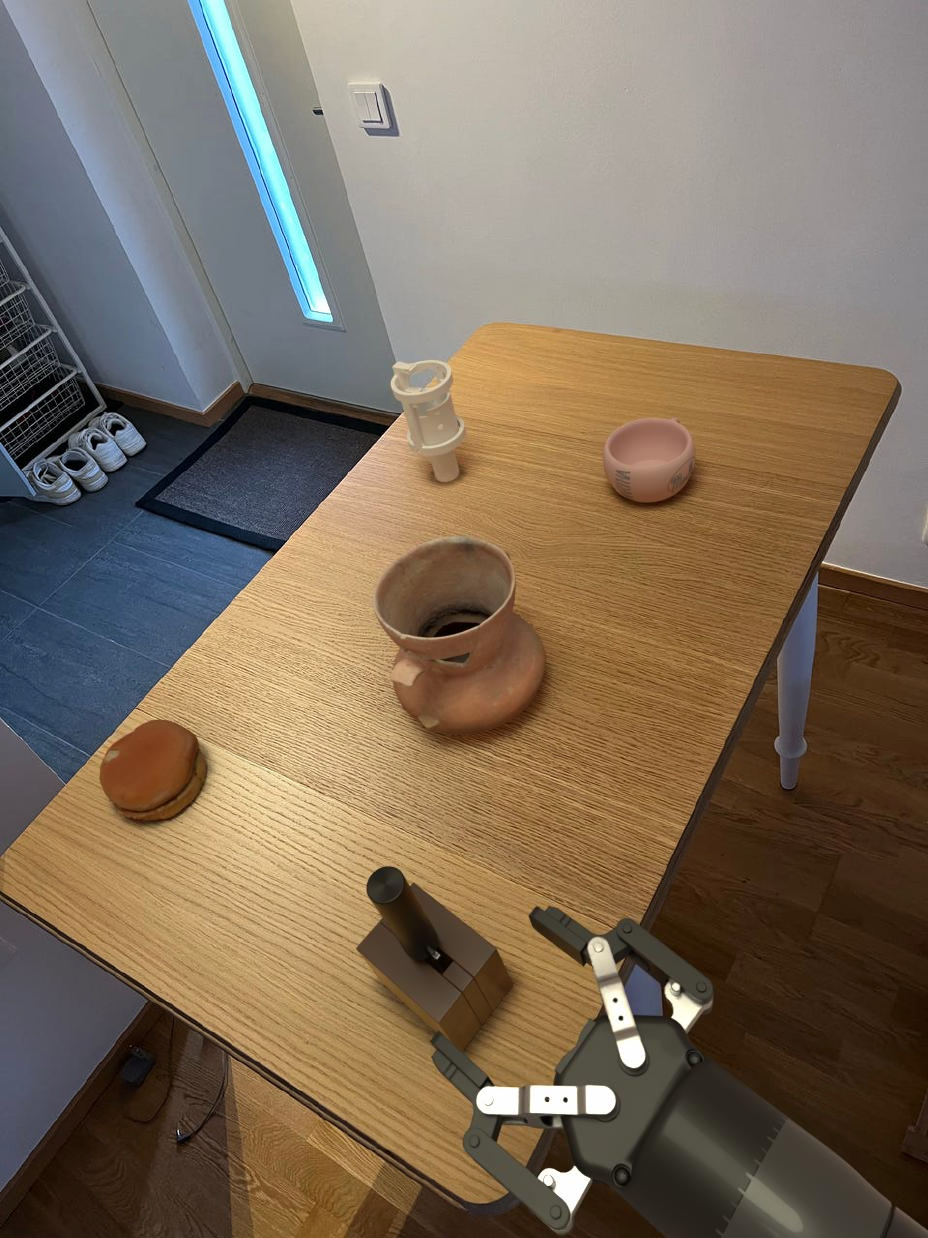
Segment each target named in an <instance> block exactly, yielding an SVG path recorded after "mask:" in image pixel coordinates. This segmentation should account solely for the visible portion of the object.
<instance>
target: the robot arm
mask: <svg viewBox="0 0 928 1238" xmlns="http://www.w3.org/2000/svg"><path fill="white" fill-rule="evenodd" d="M528 919H529V921H530V925H531V927H532V928H533V929H534V930H535V931H536V932H537V933H538V934H539V935H541V936H542V937H543V938H545V939H546V940H547V941H548V942H550V943H552V944H553V946H555V947H557V948H558V949H560V951H562V952H563V953H565V954H566V955H567V956H569V957H570V958H571V959H573V960H574V961H575V962H577V963H578V965H580V966H582V967H583V968H584V967H585V966H586V965H589V966H590V967H591V969H592V972H593V975H594V978H595V981H596V985H597V989H598V991H599V995H600V997H601V1002H602V1005H603V1009H604V1012H605V1014H601V1015H598V1016H596V1017H595V1018H591V1017H590V1018H589V1019H588V1020H587V1022H586V1023H585V1025H584V1026H583V1028H582V1029H581V1031H580V1034H579V1037H578V1039H577V1041H576V1045H575V1046H574V1047H573V1048H572V1049H570V1050H569V1051H568V1052H567V1053H566V1054H564V1055H563V1056H562V1057H561V1059H560V1061H559V1062H558V1063H557V1065H556V1066H555V1067H554V1072H555V1074H554V1077H553V1083H552V1085H541V1084H540V1085H539V1084H537V1085H532V1084H530V1085H529V1084H528V1085H524V1086H521V1087H517V1086H515V1087H513V1086H496V1085H495V1084H494V1082H493V1081H492V1080H491V1078H490V1077H489V1075H488V1074H487V1073H486V1072H485V1071H484V1070H483V1069H482V1068H480V1067H479V1066H478V1065H477V1064H476V1063H475V1062H474V1061H473V1060H472V1059H470V1058H469V1057H468V1056H467V1055H466V1054H465V1053H464V1051H463V1052H462V1051H460V1050H459V1049H458V1048H457V1047H456V1046H455V1045H454V1044H453V1043H452V1042H451V1041H450V1040H448V1039H447V1038H446V1037H445V1036H444V1035H443V1034H442V1033H441V1032H440V1031H437V1032H435V1033H434V1035H433V1036H432V1037H431V1039H430V1040H429V1043H430V1044H431V1046H432V1047H433V1048H434V1049H435V1051H434V1053H433V1054H432V1055H431V1057H430V1058H431V1060H432V1062H433V1064H434V1067H435V1068H436V1070H437V1071H438V1072H439V1073H440V1074H441V1076H443V1077H444V1079H446V1080H447V1081H448V1082H449V1083H450V1084H451V1085H452V1086H453V1087H454V1088H456V1090H458V1091H459V1093H461V1095H463V1096H464V1097H465V1098H466V1099H467V1100H468V1101H469V1102H470V1103H471V1104H472V1109H473V1112H472V1113H473V1114H472V1119H471V1121H470V1123H469V1127H468V1129H467V1130H466V1131H465V1132H464V1134H463V1136H462V1142H461V1143H462V1148H463V1150H464V1151H465V1152H466V1154H467V1155H468V1156H469V1157H470V1158H471V1159H472V1160H473V1161H474V1162H475V1163H476V1164H477V1165H478V1166H479V1167H480V1168H482V1169H483V1171H485V1172H486V1173H487V1174H488V1175H489V1176H491V1178H493V1179H494V1180H495V1181H496V1182H497V1183H498V1184H500V1185H501V1186H502V1187H503V1188H504V1189H505V1190H506V1191H507V1192H508V1193H509V1194H511V1195H512V1196H513V1197H514V1198H515V1199H516V1200H518V1201H519V1202H520V1203H521V1204H522V1205H523V1206H524V1207H525V1208H527V1209H528V1210H529V1211H530V1212H531V1213H532V1214H533V1215H535V1217H537V1218H538V1219H539V1220H540V1221H541V1222H542V1223H544V1224H545V1226H547V1227H548V1228H549V1229H550V1230H552V1232H554V1233H555V1234H556V1235H557V1236H562V1237H563V1236H567V1235H568V1234H570V1233H572V1231H573V1229H574V1228H575V1221H576V1220H575V1219H576V1218H575V1215H576V1214H577V1212H578V1209H579V1208H580V1207H581V1204H582V1202H583V1200H584V1199H585V1196H586V1195H587V1193H588V1192H589V1190H590V1188H591V1186H592V1184H593V1183H594V1184H600V1185H603V1186H606V1187H607V1188H610V1189H611V1190H613V1191H614V1192H615V1193H617V1194H618V1195H619V1196H620V1197H621V1198H622V1199H623V1200H625V1201H626V1203H628V1204H629V1205H630V1206H631V1207H632V1208H633V1209H634V1210H635V1211H637V1212H638V1213H639V1214H640V1215H641V1216H642V1217H643V1218H644V1219H645V1220H647V1222H648V1223H649V1224H651V1225H652V1226H653V1228H655V1229H656V1230H657V1231H658V1232H659V1233H661V1235H663V1236H664V1237H665V1238H928V1229H926V1228H925V1227H924V1226H922V1225H921V1224H920V1223H919V1222H917V1221H916V1220H915V1219H914V1218H912V1217H911V1216H910V1215H908V1214H907V1213H906V1212H904V1211H903V1210H902V1209H900V1208H899V1207H897V1206H896V1205H892V1201H890V1200H889V1199H888V1198H887V1197H885V1196H884V1195H883V1194H882V1193H880V1192H879V1191H878V1190H877V1189H876V1188H875V1187H874V1186H873V1185H872V1184H871V1183H869V1182H868V1181H867V1180H866V1178H864V1177H863V1176H862V1175H861V1174H860V1173H859V1172H858V1171H857V1170H856V1169H855V1168H854V1167H853V1166H852V1165H851V1164H849V1163H848V1162H847V1161H846V1160H844V1159H843V1158H842V1157H841V1156H840V1155H839V1154H837V1152H835V1151H834V1150H832V1149H830V1148H829V1147H828V1146H827V1145H826V1144H824V1143H823V1142H822V1141H820V1140H819V1139H818V1138H816V1137H815V1136H814V1135H812V1134H811V1133H809V1132H808V1131H807V1130H806V1129H804V1128H803V1127H802V1126H800V1125H799V1124H798V1123H796V1121H794V1120H792V1119H791V1118H790V1117H789V1116H787V1115H786V1114H784V1113H783V1112H782V1111H780V1110H779V1109H778V1108H777V1107H775V1106H774V1105H773V1104H771V1103H770V1102H768V1101H767V1100H766V1099H764V1097H762V1096H761V1095H759V1094H758V1093H757V1092H755V1091H754V1090H752V1088H750V1087H749V1086H748V1085H746V1084H745V1083H743V1082H742V1081H741V1080H739V1079H738V1078H737V1077H735V1076H734V1075H733V1074H731V1073H730V1072H729V1071H727V1070H726V1069H725V1068H724V1067H722V1066H721V1065H719V1063H717V1062H715V1061H714V1060H713V1059H711V1058H710V1057H709V1056H707V1055H706V1054H705V1053H704V1052H702V1051H701V1050H700V1049H698V1047H697V1046H696V1045H695V1044H694V1043H693V1041H692V1040H691V1039H690V1037H689V1034H688V1033H689V1032H690V1030H691V1029H692V1028H693V1026H694V1025H695V1024H696V1022H697V1021H698V1019H700V1017H701V1016H706V1015H708V1014H709V1013H711V1011H712V1010H713V1007H714V990H715V989H714V984H713V981H711V979H710V978H708V977H707V976H706V975H705V974H703V973H702V972H700V970H698V969H697V968H696V967H694V966H693V965H692V964H690V963H689V962H688V961H686V960H685V959H684V958H683V957H681V956H680V955H679V954H678V953H676V952H675V951H674V950H672V949H671V948H670V947H669V946H667V945H666V944H665V943H663V942H662V941H661V940H660V939H658V938H657V937H656V936H654V935H653V934H652V933H650V931H648V930H647V929H645V928H644V927H643V926H642V925H640V924H639V923H638V922H636V921H635V920H634V919H632V918H629V917H624V918H622V919H620V920H619V921H617V923H616V926H615V927H614V928H612V929H610V930H609V931H608V932H606V933H604V934H597V933H593V932H592V931H590V930H589V929H588V928H586V927H585V926H584V925H582V924H581V923H580V922H578V921H577V920H575V919H574V918H572V917H571V916H570V915H568V914H567V913H566V912H565V911H563V910H561V909H560V908H559V907H555V906H553V905H552V906H551V905H548V906H547V908H546V909H545V910H544V909H543V908H541V907H540V906H537V905H535V907H534V908H532V911H531V912H530V913H529V914H528ZM626 958H628V959H629V960H630V961H631V962H633V963H634V964H635V965H637V966H638V967H639V968H640V969H641V970H643V972H645V973H646V974H648V976H650V977H651V978H652V979H653V980H655V981H656V982H658V984H660V985H661V986H662V987H663V988H664V998H665V1002H666V1004H667V1005H668V1006H669V1007H670V1008H671V1010H672V1014H671V1016H667V1015H651V1014H649V1015H647V1014H633V1013H632V1009H631V1006H630V1003H629V1000H628V997H627V993H626V990H625V988H624V984H623V982H622V981H623V980H622V978H621V976H620V974H619V971H618V968H617V964H619V963H620V962H622V961H624V959H626ZM502 1126H517V1127H518V1126H519V1127H529V1128H533V1129H540V1130H562V1131H563V1133H564V1138H565V1139H566V1144H567V1148H568V1151H569V1155H570V1159H571V1162H572V1163H573V1167H572V1169H570V1170H569V1171H567V1172H560V1171H558V1170H556V1169H555V1168H551V1167H548V1168H545V1169H543V1170H542V1171H541V1172H540V1173H539V1175H538V1176H537V1175H535V1174H534V1173H533V1172H532V1171H531V1170H530V1169H528V1168H527V1167H526V1166H525V1165H524V1164H523V1163H521V1162H520V1161H519V1160H517V1158H515V1157H514V1155H512V1154H511V1153H510V1152H508V1151H507V1150H506V1149H505V1148H504V1147H503V1146H501V1144H500V1143H498V1139H499V1137H500V1132H501V1130H502Z"/></svg>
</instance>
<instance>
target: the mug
mask: <svg viewBox="0 0 928 1238" xmlns="http://www.w3.org/2000/svg"><path fill="white" fill-rule="evenodd" d="M696 453H697V452H696V444H695V441H694V436H693V435H692V433H691V432H690V430H689V429H688V428H687V427H685V425H683V424H682V423H681V421H680V419H679V418H678V417H672V418H670V419H669V418H664V417H642V418H639V419H634V420H631V421H628V422H626V423H624V424H622V425H620V426H619V427H617V428H616V429H615V430H613V431H612V432H611V433H610V434H609V436H608V437H607V438H606V441H605V442H604V445H603V450H602V463H603V471H604V473H605V476H606V478H607V480H608V482H609V483H610V485H611V486H612V487H613V489H614V490H615V491H616V492H617V493H618V494H619V495H621V496H622V497H623V498H626V499H628V500H630V501H633V502H638V503H656V502H662V501H664V500H667V499H669V498H671V497H674V495H676V494H678V492H680V491H681V490H682V489H683V488H684V487H685V485H687V483H688V481H689V479H690V477H691V475H692V474H693V470H694V467H695V464H696Z"/></svg>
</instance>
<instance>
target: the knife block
mask: <svg viewBox="0 0 928 1238" xmlns="http://www.w3.org/2000/svg"><path fill="white" fill-rule="evenodd" d="M409 885H410V887H411V889H412V891H413V892H414V894H415V896H416V898H417V899H418V901H419V903H420V905H421V906H422V908H423V910H424V911H425V913H426V915H427V917H428V918H429V920H430V922H431V924H432V925H433V927H434V929H435V931H436V932H437V935H438V946H437V949H436V950H435V951H437V952H438V953H439V954H440V955H441V957H442V959H443V960H444V962H445V964H446V965H447V967H448V968H447V969H446V970H445V971H444V973H443V974H442V975H441V974H440V973H439V972H438V971H436V970H435V969H434V968H433V967H432V966H431V965H429V964H428V963H427V962H426V961H425V960H414V959H412V958H410V957H409V956H408V955H407V954H406V952H405V951H404V949H403V948H402V946H401V945H400V943H399V942H398V940H397V939H396V937H395V936H394V934H393V933H392V931H391V930H390V928H389V927H388V925H387V924H386V922H385V921H384V919H383V918H382V917H381V918H380V920H379V921H378V922H377V923H376V925H375V926H374V927H373V928H372V929H371V930H370V931H369V933H368V934H367V935H366V936H365V937H364V938H363V939H362V941H360V943H359V944H358V945H357V946H356V947H355V950H356V951H357V952H358V954H359V955H360V956H361V957H362V959H363V960H364V962H365V963H366V964H367V965H368V967H369V968H370V969H371V970H372V972H373V973H374V974H375V975H376V977H377V978H378V979H379V981H380V982H381V983H382V984H383V986H385V988H387V989H388V991H390V992H391V993H392V994H393V995H394V996H395V997H397V999H399V1000H400V1001H401V1003H403V1004H404V1005H405V1006H406V1007H408V1008H409V1010H411V1011H412V1012H413V1013H414V1014H415V1015H416V1016H417V1017H419V1018H420V1019H421V1021H423V1022H424V1023H425V1024H426V1025H427V1026H428V1027H429V1028H430V1029H431V1030H432V1031H434V1032H435V1033H436V1032H437V1031H440V1032H441V1033H442V1034H443V1035H444V1036H445V1037H446V1038H447V1039H448V1040H450V1041H451V1042H452V1043H453V1044H454V1045H455V1046H456V1047H457V1048H458V1049H459V1050H460V1051H462V1052H463V1053H464V1051H465V1049H466V1048H467V1046H469V1044H470V1043H471V1041H472V1040H473V1038H474V1037H475V1036H476V1035H477V1034H478V1032H479V1031H480V1029H482V1026H483V1025H484V1024H485V1023H486V1022H487V1020H488V1019H489V1018H490V1016H491V1015H492V1014H493V1012H494V1011H495V1009H496V1008H497V1007H498V1006H499V1004H500V1003H501V1002H502V1000H503V999H504V998H505V996H506V995H507V994H508V992H509V991H510V990H511V988H513V986H514V983H513V981H512V979H511V977H510V974H509V972H508V970H507V968H506V965H505V964H504V961H503V959H502V957H501V954H500V953H499V950H498V948H497V947H496V946H495V945H493V944H492V943H491V942H490V941H488V940H487V939H486V938H485V937H484V936H482V935H481V934H480V933H478V932H477V931H476V930H474V929H473V928H472V927H471V926H470V925H469V924H467V923H466V922H465V921H464V920H463V919H461V918H459V917H458V916H457V915H456V914H454V913H453V912H452V911H451V910H449V909H448V908H447V907H445V906H444V905H443V904H442V903H440V902H439V901H438V900H437V899H436V898H434V897H433V896H432V895H430V894H429V892H427V891H426V890H424V889H423V888H422V887H420V886H419V885H418V884H417V883H415V882H412V883H411V884H409Z"/></svg>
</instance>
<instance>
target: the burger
mask: <svg viewBox="0 0 928 1238" xmlns="http://www.w3.org/2000/svg"><path fill="white" fill-rule="evenodd" d="M207 767H208V766H207V762H206V759H205V757H204V755H203V753H202V750H201V748H200V742H199V739H198V737H197V735H196V734H194V733H193V732H192V731H190V730H189V729H188V728H187V727H185V726H183V725H181V724H180V723H177V722H176V721H172V720H167V719H151V720H148V721H146V722H143V723H142V724H139V725H138V726H136V727H135V728H134V730H132V731H131V732H129V733H127V734H125V735H124V736H122V737H121V738H119V739H117V740H116V741H115V742H114V743H112V744H111V746H109V748H108V749H107V751H106V753H105V754H104V756H103V758H102V761H101V764H100V766H99V782H100V786H101V788H102V790H103V793H104V795H105V796H106V797H107V799H108V800H109V801H110V802H111V803H113V806H114V807H113V808H114V810H116V812H117V814H118V815H121V816H124V817H126V818H128V819H133V820H141V821H145V822H147V821H158V820H166V819H170V818H172V817H174V816H176V815H177V814H178V813H180V812H181V811H182V810H183V809H184V808H186V807H187V806H188V805H189V804H191V802H193V800H195V797H196V796H197V795H198V793H199V792H200V790H201V788H202V785H203V784H204V782H205V778H206V774H207Z"/></svg>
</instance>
